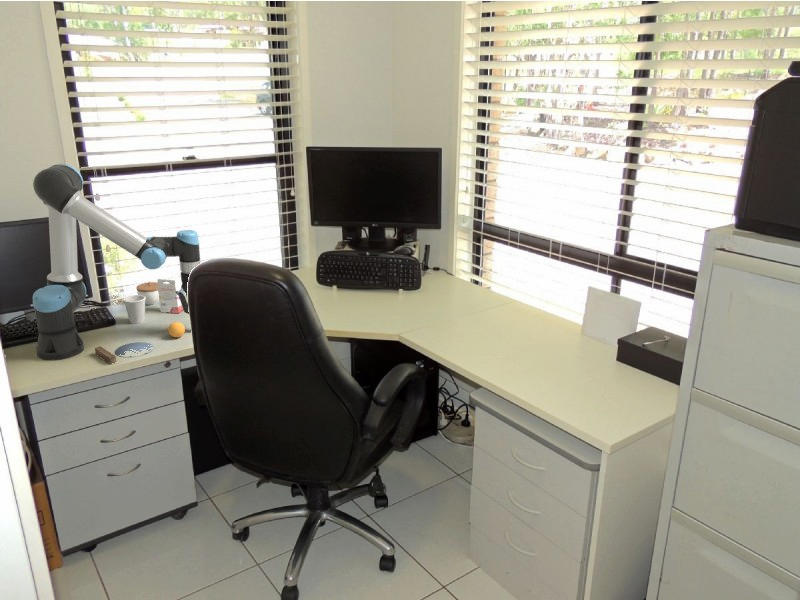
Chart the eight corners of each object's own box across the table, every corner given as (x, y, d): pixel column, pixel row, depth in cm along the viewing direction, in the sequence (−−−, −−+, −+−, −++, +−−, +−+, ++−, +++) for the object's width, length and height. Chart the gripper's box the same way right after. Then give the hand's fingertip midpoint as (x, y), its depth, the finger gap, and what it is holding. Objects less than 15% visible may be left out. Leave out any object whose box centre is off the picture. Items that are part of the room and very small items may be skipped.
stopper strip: (110, 364, 215) (110, 357, 214) (95, 354, 223) (94, 347, 222) (116, 362, 216) (115, 356, 216) (101, 352, 224) (100, 346, 223)
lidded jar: (164, 297, 281) (161, 277, 278) (164, 305, 271) (162, 284, 268) (138, 299, 277) (136, 279, 274) (138, 307, 268) (135, 287, 265)
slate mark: (125, 360, 218) (125, 360, 218) (108, 349, 226) (108, 349, 226) (160, 349, 228) (160, 349, 227) (143, 339, 236) (143, 339, 236)
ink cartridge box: (184, 309, 267) (181, 277, 262) (178, 313, 262) (175, 280, 257) (166, 308, 268) (162, 275, 263) (160, 312, 263) (156, 279, 258)
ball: (174, 341, 235) (172, 326, 233) (166, 336, 239) (164, 322, 237) (188, 336, 239) (187, 322, 237) (180, 332, 243) (179, 318, 241)
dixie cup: (123, 320, 254) (120, 297, 250) (144, 316, 259) (142, 293, 255) (129, 326, 248) (126, 303, 244) (151, 322, 252) (148, 299, 249)
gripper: (200, 265, 244) (205, 321, 251) (169, 272, 234) (175, 330, 242) (211, 269, 239) (215, 326, 247) (180, 276, 230) (186, 335, 238)
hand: (195, 328), depth 244 cm, fingers closed
